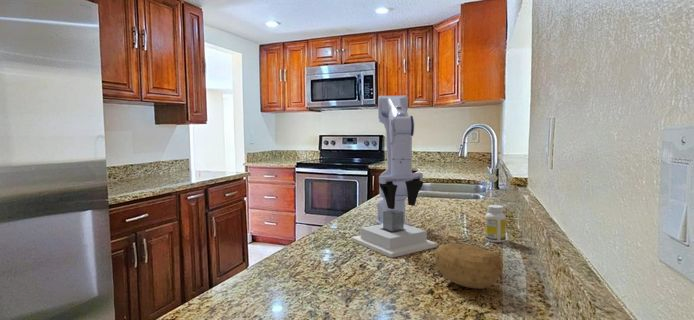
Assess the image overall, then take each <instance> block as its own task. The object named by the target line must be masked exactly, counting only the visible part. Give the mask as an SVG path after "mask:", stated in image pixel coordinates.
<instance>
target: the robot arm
mask: <svg viewBox="0 0 694 320" xmlns="http://www.w3.org/2000/svg"><path fill="white" fill-rule="evenodd" d="M408 109H409V98H408V96H407V95H405V94H404V95H379V96H378V97H377V112H378V120H379V122H380V123H382V124H383V125H384V128H385V138H386V140H385V142H386V144H385V145H386V167H387V168H386V169H385V171H383V172H382V173H380V175H379V176H378V183H379V184H378V185H379V189H378V190H379V196H380V199H379V200H378V202H377V220H376V221H375V224H377V225H380V224H383V211H389V210H398V211H401V212H404V224H405V225H409V226H412V223H409V222H406V200H407V205H408V206H412V207H415V206H416V201H417V198H418V195H419V192H420V190H421V189H422V187H423V185H424V181H423V180H424V178H423V177H424V173H422V172H413V171H412V170H413V167H412V166H413V165H412V164H413V156H412V155H413V136H414V134H415V119H414V116H413V115H409V113H408Z"/></svg>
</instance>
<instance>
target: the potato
mask: <svg viewBox="0 0 694 320" xmlns="http://www.w3.org/2000/svg"><path fill="white" fill-rule="evenodd" d="M434 251H435V252H434V255H433V256H434V260H435V264H436V268H437V269H438V271H439V272H440V274H441V275H442V276H443V278H445V279H446V280H448V281H449V282H451V283H454V284H457V285H459V286H462V287H465V288H468V289H478V290H482V289H487V288H489V287H491V286H493V285H494V284H495V283H496V282H497V281H498V279H499V277H500V276H501V275H502V272H503V269H504V262H503V259H502V258H501V257H500V256H499V254H497V253H495V252H494V251H492V250H488V249H484V248H482V247H478V246H476V245H472V244H461V243H456V242H455V243H454V242H452V243H451V242H450V243H445V244H442V245H439V246H437V247H436V249H435V250H434Z"/></svg>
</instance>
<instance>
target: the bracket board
mask: <svg viewBox="0 0 694 320" xmlns="http://www.w3.org/2000/svg"><path fill="white" fill-rule="evenodd" d="M427 235H428V231H427V230H425V229H422V228H418V227H415V226H412V225H405V224H404V231H400V232H395V233H390V232H387V231H384V230H383V224H376V225H371V226H370V225H369V226H365V227H360V235H356V236H351V237H350V239H351V240H350V241H352V242H354V243H356V244H358V245H360V246H363V247H366V248H368V249H370V250H372V251H375V252H376V253H379V254H382V255H383V256H387V257H389V258H391V259H392V258H397V257H400V256H405V255H409V254H412V253H413V254H414V253H418V252H421V251H425V250H428V249H429V250H430V249H434V248H438V242H437V241H433V240H429V239H428V238H427V237H428V236H427Z"/></svg>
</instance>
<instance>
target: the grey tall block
mask: <svg viewBox="0 0 694 320" xmlns="http://www.w3.org/2000/svg"><path fill="white" fill-rule="evenodd" d="M383 230H384V231H387V232H390V233H395V232H400V231H404V212H401V211H398V210H389V211H383Z"/></svg>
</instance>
